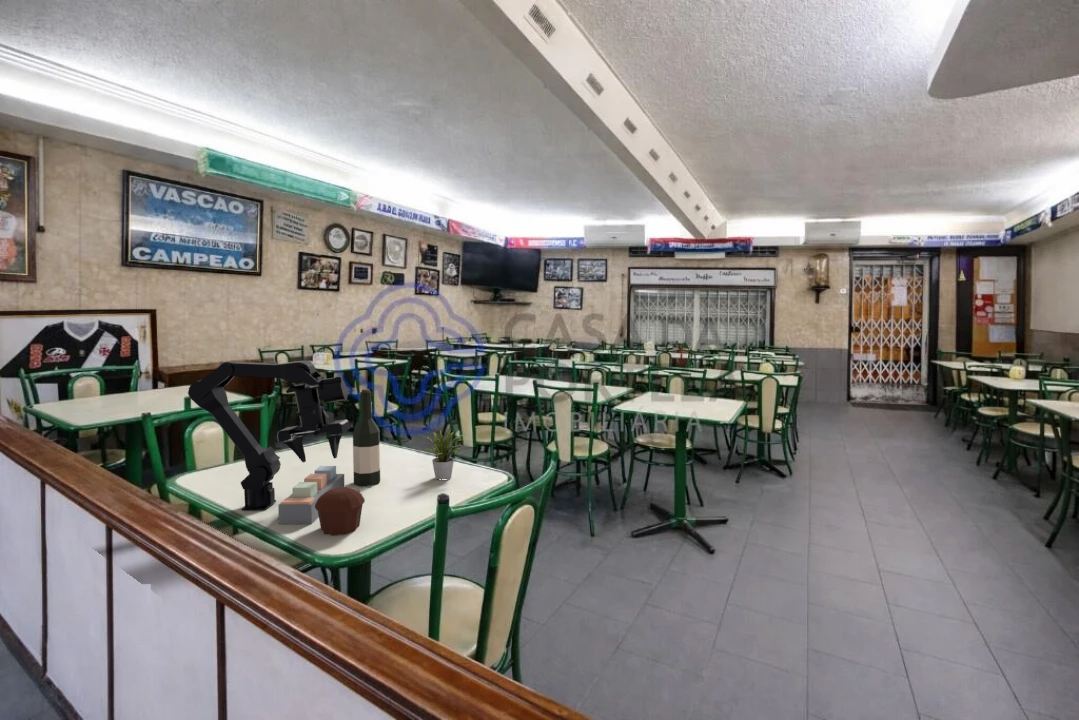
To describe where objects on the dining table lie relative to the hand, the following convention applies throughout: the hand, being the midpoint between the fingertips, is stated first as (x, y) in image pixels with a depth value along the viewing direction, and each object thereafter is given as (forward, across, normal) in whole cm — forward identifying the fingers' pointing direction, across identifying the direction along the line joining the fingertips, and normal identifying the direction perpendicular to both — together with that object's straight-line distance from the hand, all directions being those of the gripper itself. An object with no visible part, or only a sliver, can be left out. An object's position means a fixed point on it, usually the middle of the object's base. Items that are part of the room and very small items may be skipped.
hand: (319, 460), depth 144 cm
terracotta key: (+8, +2, 0) cm, 8 cm away
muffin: (+14, -11, +16) cm, 24 cm away
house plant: (+18, -26, -25) cm, 40 cm away
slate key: (+8, +3, -7) cm, 11 cm away
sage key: (+8, +2, +8) cm, 11 cm away
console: (+12, +3, +2) cm, 13 cm away
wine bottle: (+14, -3, -19) cm, 24 cm away
